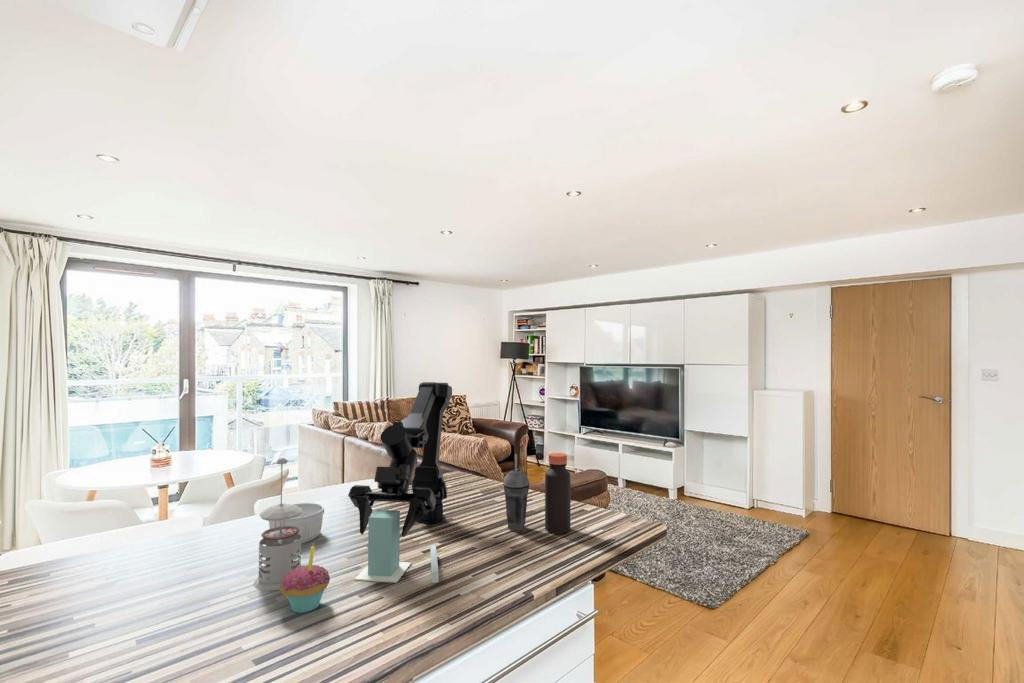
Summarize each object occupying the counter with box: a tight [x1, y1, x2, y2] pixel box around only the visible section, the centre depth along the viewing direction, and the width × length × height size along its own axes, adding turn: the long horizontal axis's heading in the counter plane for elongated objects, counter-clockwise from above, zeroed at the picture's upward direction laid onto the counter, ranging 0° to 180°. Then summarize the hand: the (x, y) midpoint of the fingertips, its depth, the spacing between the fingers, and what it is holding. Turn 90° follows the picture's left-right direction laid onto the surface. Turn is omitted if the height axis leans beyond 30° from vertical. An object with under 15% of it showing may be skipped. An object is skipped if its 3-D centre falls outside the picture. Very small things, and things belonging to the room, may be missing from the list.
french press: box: [252, 457, 302, 592], centre depth 101 cm, size 10×12×25 cm
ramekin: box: [268, 502, 325, 546], centre depth 123 cm, size 13×13×7 cm
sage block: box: [367, 509, 401, 576], centre depth 103 cm, size 5×5×12 cm
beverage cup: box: [502, 453, 531, 532], centre depth 130 cm, size 7×7×20 cm
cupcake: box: [279, 542, 331, 614], centre depth 89 cm, size 9×8×12 cm
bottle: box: [544, 452, 572, 535], centre depth 129 cm, size 7×7×20 cm
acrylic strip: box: [429, 545, 439, 584], centre depth 105 cm, size 14×1×2 cm, turn 11°
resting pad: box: [354, 561, 412, 584], centre depth 103 cm, size 9×9×1 cm
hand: (381, 534), depth 102 cm, fingers open, 9 cm apart
